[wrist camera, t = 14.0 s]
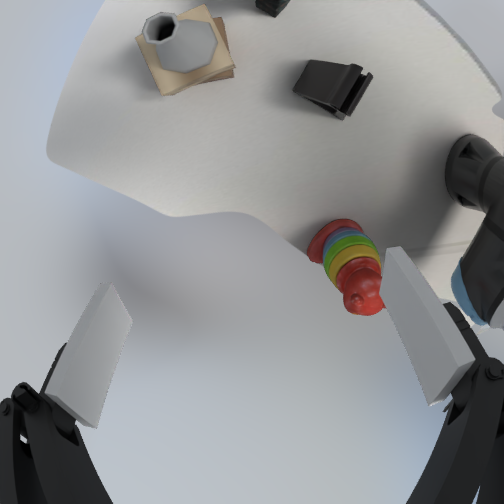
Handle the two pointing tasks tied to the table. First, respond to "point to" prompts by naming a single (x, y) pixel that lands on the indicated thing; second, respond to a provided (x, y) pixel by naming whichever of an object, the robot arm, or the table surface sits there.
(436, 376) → the robot arm
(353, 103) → the phone stand
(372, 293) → the stacking bear
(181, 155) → the table surface
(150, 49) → the block upper
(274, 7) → the ceramic cat
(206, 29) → the flask
